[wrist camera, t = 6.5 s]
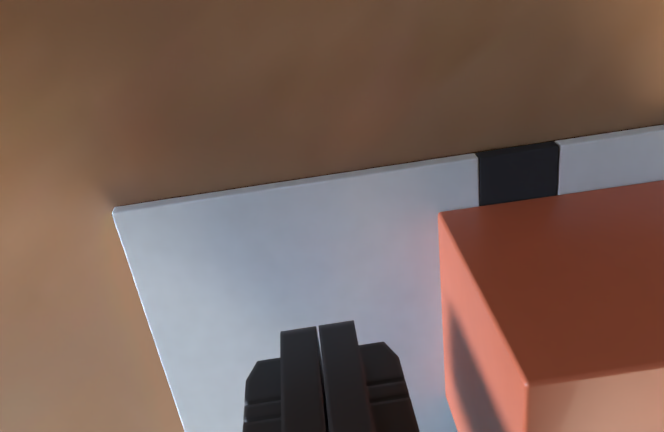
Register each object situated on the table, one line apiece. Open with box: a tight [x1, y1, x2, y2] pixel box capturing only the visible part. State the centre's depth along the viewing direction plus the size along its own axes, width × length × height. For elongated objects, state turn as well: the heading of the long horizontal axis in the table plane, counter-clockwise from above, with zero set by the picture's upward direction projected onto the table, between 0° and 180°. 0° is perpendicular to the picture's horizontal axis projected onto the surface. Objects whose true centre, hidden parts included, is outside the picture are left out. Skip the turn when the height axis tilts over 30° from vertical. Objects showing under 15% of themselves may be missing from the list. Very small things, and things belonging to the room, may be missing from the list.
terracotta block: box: [438, 180, 664, 432], centre depth 11 cm, size 5×5×5 cm
